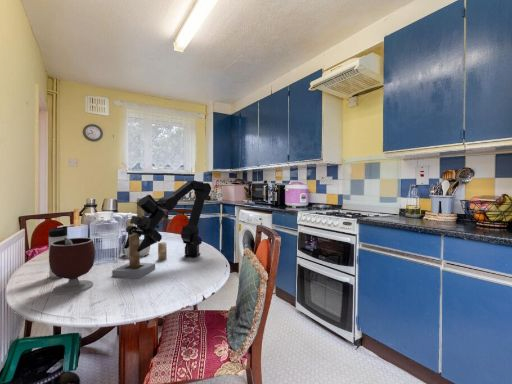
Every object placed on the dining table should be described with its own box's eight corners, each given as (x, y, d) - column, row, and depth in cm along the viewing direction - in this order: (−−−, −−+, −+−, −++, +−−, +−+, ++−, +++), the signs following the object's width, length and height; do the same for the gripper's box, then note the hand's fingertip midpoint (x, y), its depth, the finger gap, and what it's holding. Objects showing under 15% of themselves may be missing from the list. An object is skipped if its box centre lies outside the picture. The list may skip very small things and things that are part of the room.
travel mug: (73, 274, 115) (71, 226, 114) (57, 279, 109) (55, 229, 108) (62, 272, 117) (61, 225, 116) (45, 278, 111) (44, 228, 110)
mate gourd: (56, 283, 105) (55, 231, 104) (98, 279, 110) (97, 229, 109) (42, 300, 90) (40, 239, 90) (90, 294, 95) (89, 236, 94)
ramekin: (155, 251, 152) (155, 239, 152) (143, 258, 139) (143, 244, 139) (132, 251, 153) (132, 238, 153) (118, 257, 140) (118, 244, 140)
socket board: (155, 269, 122) (155, 263, 122) (138, 278, 111) (138, 272, 111) (130, 267, 125) (130, 261, 125) (112, 276, 113) (112, 270, 113)
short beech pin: (168, 258, 140) (167, 242, 139) (164, 260, 136) (163, 244, 135) (160, 257, 140) (160, 242, 140) (156, 259, 137) (156, 243, 136)
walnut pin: (140, 270, 120) (139, 234, 120) (139, 273, 116) (138, 235, 116) (130, 271, 119) (129, 234, 118) (128, 274, 115) (128, 236, 115)
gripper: (129, 207, 125) (105, 236, 116) (155, 210, 115) (131, 241, 106) (145, 222, 132) (123, 250, 123) (171, 226, 121) (149, 257, 113)
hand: (131, 249), depth 116 cm, fingers open, 9 cm apart
